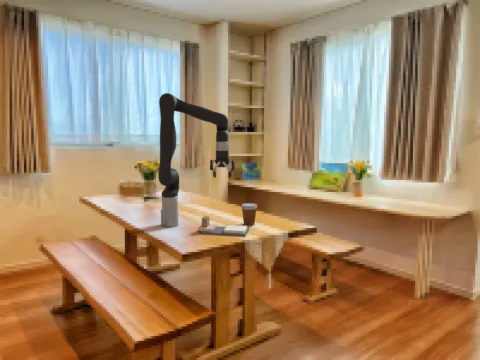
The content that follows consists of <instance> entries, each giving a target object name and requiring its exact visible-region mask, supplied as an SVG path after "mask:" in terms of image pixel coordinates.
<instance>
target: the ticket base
mask: <svg viewBox="0 0 480 360" xmlns="http://www.w3.org/2000/svg"><path fill="white" fill-rule="evenodd" d="M249 231H250V228H249V227H248V226H247V225H237V224H236V225H235V224H228V225H225V226H220V225H219V226H218V225H217V227H216V228H215V229H214V230H213V231H212V232H208V231H200V233H201V235H212V236H213V235H214V236H217V235H218V236H229V237H230V236H231V237H232V236H233V237H246V236H247V235H248V233H249Z"/></svg>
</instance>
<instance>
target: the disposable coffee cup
mask: <svg viewBox="0 0 480 360" xmlns="http://www.w3.org/2000/svg"><path fill="white" fill-rule="evenodd" d="M257 208H258V205H257V203H253V202H245V203H242V204H241V210H242V211H241V212H242V220H243V226H247V227H248V226H249V227H250V226H252V227H253V226H254V225H255V223H256V215H257Z"/></svg>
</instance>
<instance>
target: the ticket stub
mask: <svg viewBox="0 0 480 360" xmlns="http://www.w3.org/2000/svg"><path fill="white" fill-rule="evenodd" d="M217 226H218V225H217V224H216V223H214V224H213V223H210V216H207V215H204V216H203V217H201V225H200V226H198V228H197V231H198V232H202V231H208V232H212V231H213V230H214V229H215V228H216V227H217Z"/></svg>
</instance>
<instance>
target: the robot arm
mask: <svg viewBox="0 0 480 360" xmlns="http://www.w3.org/2000/svg"><path fill="white" fill-rule="evenodd" d="M158 100H159V101H158V105H159V115H160V125H159V164H158V174H157V175H158V182H159V183H160V185H161V186H164V187H165V188H163V190H162V191H161V209H160V226H161V227H165V228H174V227H177V226H179V192H180V173H179V171H178V170H177V169H175V168H172V160H173V157H174V154H175V152H176V148H177V130H176V124H175V112H179V113H182V114H185V115H188V116H190V117H192V118H195V119H197V120H200V121H203V122H206V123H207V122H208V123H210V124H212V125H215V126H216V133H215V159H210V161H209V170H210V171H212V177H214V179H215V178H217V169H218V168H226V169H227V171H228V179H231V177H232V175H233V174H232V172H233V171H235V170H236V165H235V164H236V163H235V159H231V160H230V146H229V145H230V144H229V117H228V116H227V115H226V114H224V113H221V112H217V111H214V110H211V109H209V108H207V107H203V106H201V105H196V104H193V103H189V102H186V101H183V100H181V99H179V97H176V96H175V95H174V94H172V93H169V92H165V93H163V94H161V96H160V97H159V99H158ZM214 164H215V166H214ZM229 164H230V165H231V167H230V165H229Z"/></svg>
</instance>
